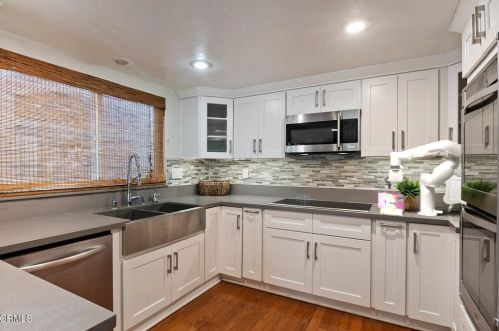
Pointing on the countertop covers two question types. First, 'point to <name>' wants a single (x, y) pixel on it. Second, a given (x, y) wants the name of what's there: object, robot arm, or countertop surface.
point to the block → (390, 207)
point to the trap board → (391, 211)
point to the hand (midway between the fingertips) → (396, 189)
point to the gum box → (390, 200)
